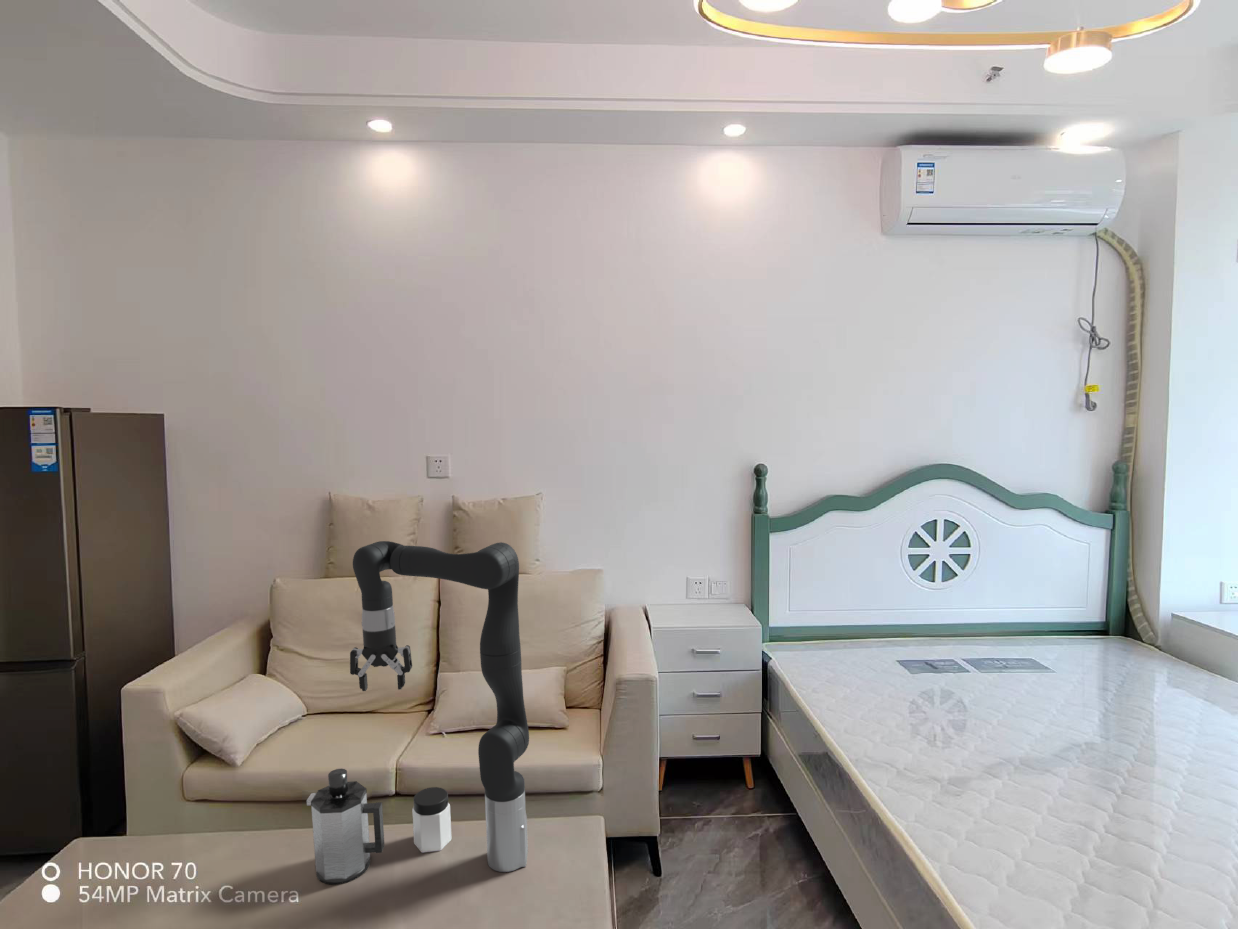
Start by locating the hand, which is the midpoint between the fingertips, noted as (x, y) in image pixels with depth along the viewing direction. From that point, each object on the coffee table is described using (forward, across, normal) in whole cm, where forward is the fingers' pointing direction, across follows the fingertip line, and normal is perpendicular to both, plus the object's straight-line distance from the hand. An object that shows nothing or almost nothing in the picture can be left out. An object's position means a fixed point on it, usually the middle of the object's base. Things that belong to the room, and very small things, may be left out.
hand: (382, 689), depth 178 cm
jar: (+38, -11, +4) cm, 40 cm away
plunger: (+35, +8, +12) cm, 38 cm away
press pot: (+38, +7, +12) cm, 40 cm away
